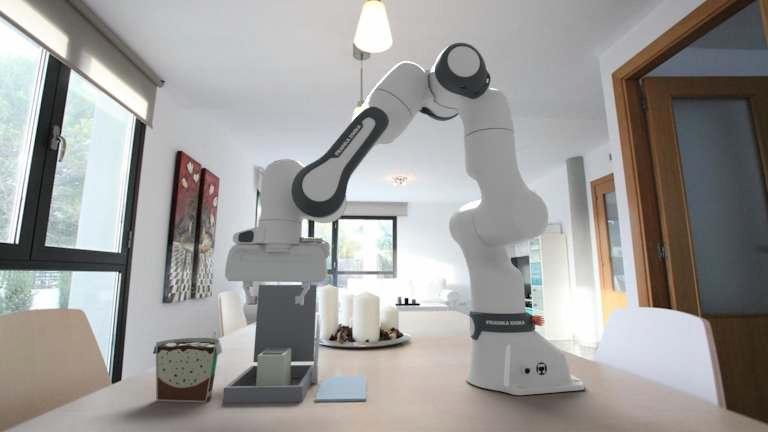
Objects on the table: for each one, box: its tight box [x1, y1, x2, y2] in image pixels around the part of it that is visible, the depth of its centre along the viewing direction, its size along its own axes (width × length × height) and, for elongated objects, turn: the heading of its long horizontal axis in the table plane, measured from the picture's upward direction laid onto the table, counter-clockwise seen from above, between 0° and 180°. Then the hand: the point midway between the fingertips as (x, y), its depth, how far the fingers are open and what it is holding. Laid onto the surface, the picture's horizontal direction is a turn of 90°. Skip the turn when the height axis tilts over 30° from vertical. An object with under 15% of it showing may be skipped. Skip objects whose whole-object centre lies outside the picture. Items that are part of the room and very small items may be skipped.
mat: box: [314, 375, 367, 403], centre depth 74 cm, size 9×15×1 cm, turn 3°
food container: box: [152, 337, 223, 403], centre depth 71 cm, size 12×6×10 cm, turn 84°
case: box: [222, 314, 322, 404], centre depth 76 cm, size 15×18×13 cm
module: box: [255, 347, 292, 386], centre depth 75 cm, size 5×7×7 cm
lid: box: [253, 284, 318, 363], centre depth 86 cm, size 13×17×1 cm
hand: (275, 305), depth 77 cm, fingers open, 8 cm apart
